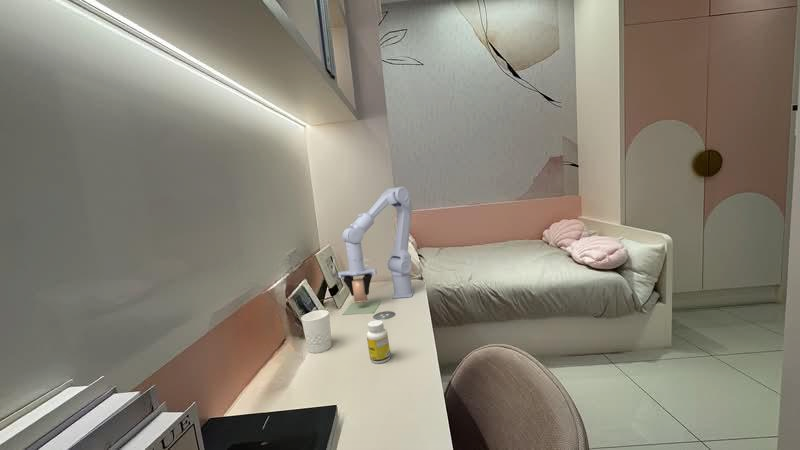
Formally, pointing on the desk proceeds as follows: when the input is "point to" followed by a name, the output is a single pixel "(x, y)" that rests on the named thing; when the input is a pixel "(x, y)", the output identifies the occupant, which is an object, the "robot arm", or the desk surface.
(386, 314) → the coaster
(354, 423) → the desk surface
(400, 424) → the desk surface
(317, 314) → the white cup
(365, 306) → the mat
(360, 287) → the terracotta cup
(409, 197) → the robot arm
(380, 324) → the supplement bottle
